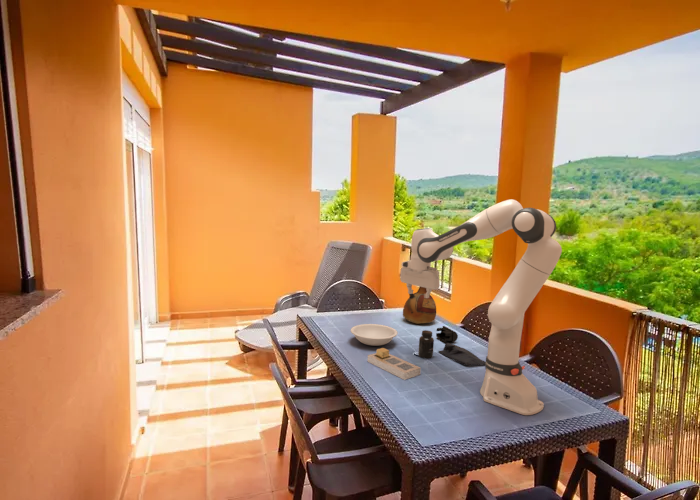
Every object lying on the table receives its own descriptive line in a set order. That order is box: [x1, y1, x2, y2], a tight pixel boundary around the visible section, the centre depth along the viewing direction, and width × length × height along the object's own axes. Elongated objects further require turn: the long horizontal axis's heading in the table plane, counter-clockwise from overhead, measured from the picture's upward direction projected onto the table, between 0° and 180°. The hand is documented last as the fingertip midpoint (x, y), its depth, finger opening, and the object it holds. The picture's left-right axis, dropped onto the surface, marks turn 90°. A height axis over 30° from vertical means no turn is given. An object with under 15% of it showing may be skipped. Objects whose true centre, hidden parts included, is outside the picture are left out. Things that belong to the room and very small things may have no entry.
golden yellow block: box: [375, 347, 390, 359], centre depth 183 cm, size 4×4×6 cm
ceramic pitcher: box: [402, 285, 437, 325], centre depth 249 cm, size 20×20×30 cm
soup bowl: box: [350, 323, 398, 347], centre depth 208 cm, size 24×24×7 cm
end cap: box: [435, 325, 458, 345], centre depth 217 cm, size 10×7×7 cm
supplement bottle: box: [418, 329, 435, 359], centre depth 193 cm, size 7×7×12 cm
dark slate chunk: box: [438, 343, 486, 366], centre depth 193 cm, size 15×22×5 cm
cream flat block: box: [367, 352, 422, 381], centre depth 178 cm, size 23×10×3 cm, turn 39°
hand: (418, 295), depth 181 cm, fingers open, 8 cm apart
